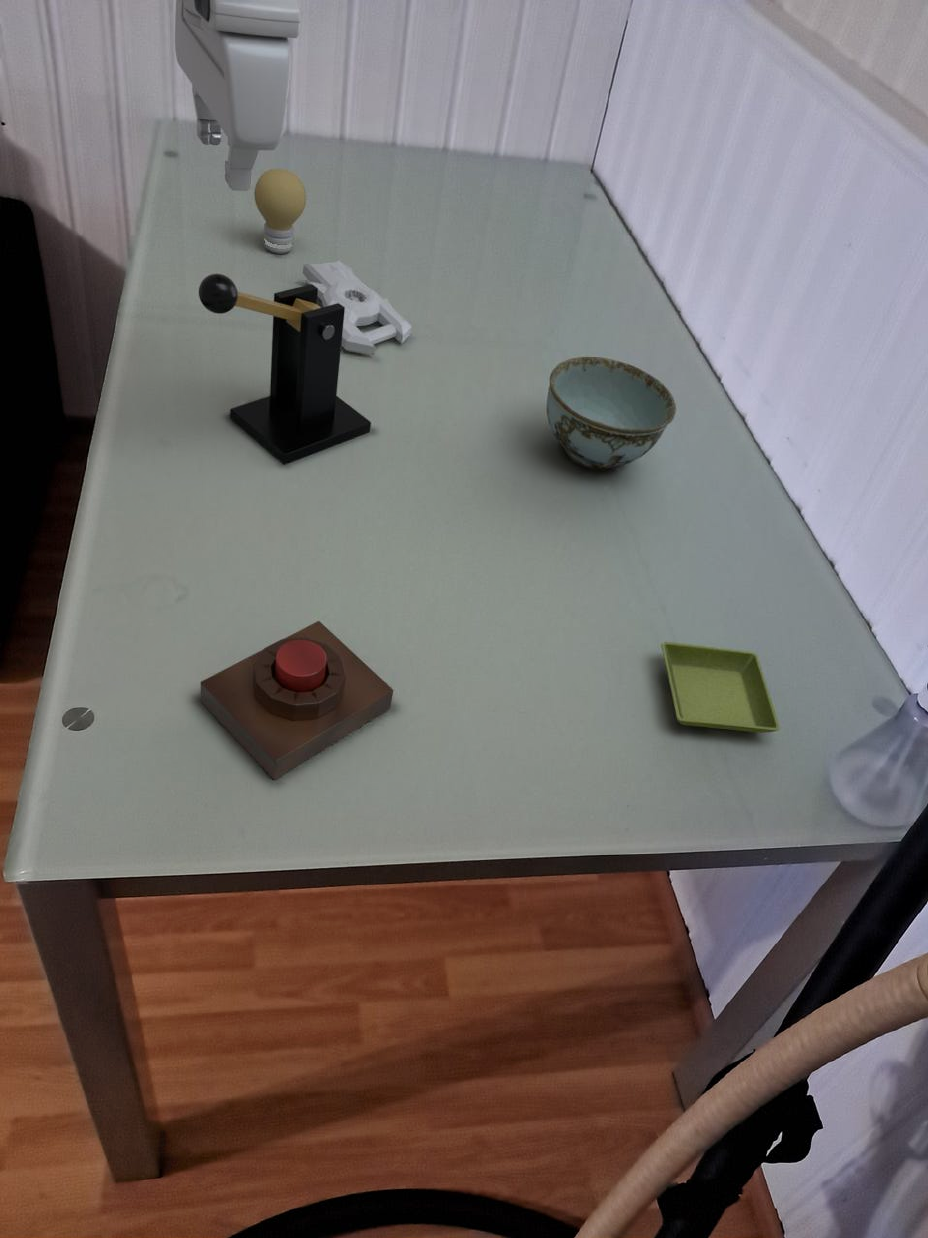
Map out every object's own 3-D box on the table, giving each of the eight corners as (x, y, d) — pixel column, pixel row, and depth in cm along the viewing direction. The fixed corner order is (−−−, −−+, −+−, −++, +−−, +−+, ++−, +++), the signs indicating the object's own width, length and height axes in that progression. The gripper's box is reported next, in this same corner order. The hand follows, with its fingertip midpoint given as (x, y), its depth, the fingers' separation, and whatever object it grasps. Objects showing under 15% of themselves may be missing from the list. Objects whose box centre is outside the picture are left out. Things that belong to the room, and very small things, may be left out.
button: (295, 700, 68) (296, 684, 67) (264, 669, 70) (265, 653, 69) (334, 677, 71) (336, 661, 69) (304, 648, 72) (305, 632, 71)
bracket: (284, 464, 93) (292, 336, 84) (229, 418, 97) (231, 290, 87) (370, 431, 100) (386, 309, 90) (315, 389, 103) (325, 267, 94)
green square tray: (669, 735, 77) (677, 719, 76) (653, 656, 83) (660, 640, 82) (770, 746, 78) (781, 731, 77) (747, 668, 85) (757, 652, 83)
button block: (274, 780, 68) (276, 746, 65) (200, 701, 71) (199, 665, 69) (390, 708, 74) (396, 674, 71) (316, 639, 78) (320, 604, 75)
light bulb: (254, 235, 127) (256, 157, 120) (302, 241, 128) (307, 164, 121) (251, 257, 122) (253, 177, 115) (302, 263, 124) (307, 184, 117)
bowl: (523, 412, 108) (540, 348, 102) (636, 424, 110) (658, 362, 105) (541, 487, 98) (561, 421, 93) (665, 498, 101) (691, 435, 95)
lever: (207, 316, 80) (221, 279, 78) (185, 298, 81) (199, 263, 80) (322, 343, 91) (336, 312, 90) (301, 328, 92) (314, 297, 91)
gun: (277, 258, 115) (347, 250, 120) (274, 285, 117) (344, 275, 123) (357, 341, 107) (429, 327, 112) (353, 367, 109) (424, 353, 115)
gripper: (154, -69, 77) (158, 115, 86) (219, 10, 64) (215, 214, 74) (232, -58, 79) (227, 119, 89) (309, 20, 67) (294, 216, 77)
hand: (222, 163), depth 81 cm, fingers open, 8 cm apart
